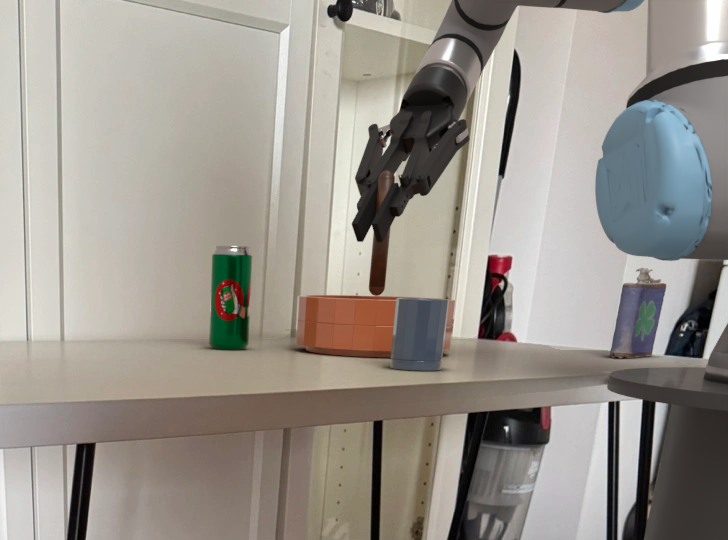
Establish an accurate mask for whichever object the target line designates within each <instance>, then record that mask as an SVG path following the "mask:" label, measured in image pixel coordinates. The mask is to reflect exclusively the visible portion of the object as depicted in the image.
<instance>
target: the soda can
mask: <svg viewBox="0 0 728 540" xmlns="http://www.w3.org/2000/svg"><path fill="white" fill-rule="evenodd" d="M250 249H251V248H250V246H245V245H215V246H214V251H213V252H212V254H211V269H210V270H211V271H210V301H209V302H210V303H209V306H210V307H209V338H208V339H209V340H208V344H209V346H210V347H211V348H212V349H215V350H223V351H224V350H225V351H240V350H242V351H243V350H245V349H246V348H247V347H248V346H249V343H250V342H249V341H250V340H249V339H250V319H251V318H250V317H251V296H252V295H251V294H252V272H253V255H252V253H251V251H250Z"/></svg>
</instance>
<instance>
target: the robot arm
mask: <svg viewBox="0 0 728 540" xmlns="http://www.w3.org/2000/svg"><path fill="white" fill-rule="evenodd" d="M644 2H645V0H451V2H450V3H449V6H448V8H447V10H446V12H445V15H444V17H443V19H442V20H441V24H440V26H439V27H438V29H437V31H436V33H435V36H434V37H433V40H432V42H431V44H430V45H429V47H428V49H427V51H426V53H425V54H424V56H423V57H422V59H421V61H420V63H419V65H418V67H417V69H416V71H415V73H414V76H413V77H412V79H411V80H410V83H409V85H408V87H407V89H406V90H405V92H404V94H403V97H402V99H401V102H400V107H399V110H398V112H397V113H396V114H395V115H394V116H393V117H391V119H390V122H389V124H387V125H384V126H382V127H379V125H378V123H372V124H370V125H369V126H368V128H367V130H368V131H367V132H368V140H367V142H366V146H365V148H364V151H363V155H362V157H361V160H360V162H359V165H358V168H357V171H356V173H355V176H354V180H355V183H356V186H357V187H356V188H357V191H358V193H359V196H360V197H359V199H358V201H357V202H356V209H357V212H356V214H355V216H354V218H353V220H352V222H351V226H352V230H353V232H354V235H355V238H356V241H357V242H358V243H362V242H363V243H364V240H365V239H366V237H367V235H368V233H369V231H370V229H371V228H372V230H373V233H374V234H375V237H376V240H377V242H383V240H384V238H385V236H386V234H387V232H388V230H389V228H390V229H391V227H390V226H392V224H393V223H394V220H395V218H397V217H398V218H399V217H401V216H402V215H403V213H404V211H405V210H406V207H407V205H408V204H409V201H410V200H412V199H413V198H414V196H415V195H419V196H421V197H425V196H427V195H429V193H430V192H431V191H432V189H433V188H434V186H435V185H436V183H437V182H438V180H439V179H440V178H441V176H442V175H443V173H444V172H445V170H446V168H447V167H448V166H449V164H450V163H451V161H452V160H453V158H454V157H455V156H456V154H457V152H458V151H459V150H461V149H462V148H463V147H464V146H465V145H466V144H467V143H468V142H469V141H470V134H469V129H468V124H467V123H468V122H467V120H466V119H464V118H463V119H462V118H461V116H462V114H463V112H464V110H465V109H466V105H467V103H468V101H469V99H470V98H471V96H472V93H473V91H474V90H475V88H476V86H477V84H478V82H479V79H480V78H481V75H482V73H483V71H484V69H485V68H486V66H487V64H488V62H489V61H490V58H491V56H492V54H493V53H494V50H495V49H496V46H497V45H498V44H499V42H500V41H501V38H502V36H503V34H504V32H505V30H506V28H507V25H508V23H509V22H510V20H511V18H512V16H513V15H514V12H515V10H516V9H517V8H518V6H519V7H533V8H548V9H549V8H550V9H564V10H565V9H566V10H567V9H568V10H577V11H578V10H579V11H587V12H588V11H589V12H598V13H603V14H610V13H613V12H615V13H617V12H631V11H633V10H636V9H638V7H640V6H641V5H642V4H643V3H644ZM645 56H646V61H645V62H646V63H645V77H644V78H643V79H642V80H641V82H640V83H638V85H637V86H636V87H635V88H634V89H633V90H632V91H631V92H630V94H629V95H628V98H627V99H626V104H625V105H626V106H625V109H624V110H622V112H621V113H620V114H619V115H617V117H616V118H615V120H614V121H613V122H612V124H611V126H610V127H609V129H608V131H607V132H606V135H605V137H604V139H603V142H602V145H601V151H602V157H601V158H599V159H598V160H597V165H596V170H595V181H594V182H595V183H594V186H595V187H594V191H595V192H594V193H595V194H594V195H595V204H596V205H595V206H596V211H597V216H598V220H599V222H600V225H601V227H602V230H603V232H604V234H605V236H606V238H607V239H608V240H609V241H610V242H611V243H613V244H614V245H615V246H616V248H617V249H618V250H619V251H621V252H623V253H624V254H627V255H631V256H634V257H648V258H653V259H655V260H658V261H659V260H660V261H665V262H666V261H668V262H675V261H679V260H713V261H715V260H717V261H728V0H647V23H646V55H645ZM460 118H461V119H460ZM389 138H390V140H389ZM388 141H389V144H388V146H387V142H388ZM384 149H385V150H384ZM403 162H406V164H405V166H404V169H403V171H402V174H397V175H398V181H399V183H398V182H395V183H392V185H391V187H390V188H389V190H388V192H387V194H386V196H385V198H384V200H383V202H382V204H381V206H380V208H379V210H378V212H377V214H376V216H375V211H376V199H377V188H378V178H379V175H380V174H381V173H382V172H383V171H385V170H389V171H391V172H393V174H394V175H395V174H396V172H397V171H398V169H399V168H400V166H401V165H402V163H403ZM705 368H706V370H705V375H704V379H706V380H709V381H713V382H718V383H724V384H728V322H727V323H726V325H725V327H724V329H723V331H722V333H721V334H720V336H719V338H718V339H717V341H716V343H715V345H714V346H713V349H712V350H711V352H710V354H709V357H708V361H707V363H706V366H705Z"/></svg>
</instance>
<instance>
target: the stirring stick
mask: <svg viewBox="0 0 728 540" xmlns="http://www.w3.org/2000/svg"><path fill="white" fill-rule="evenodd" d="M392 183H396V176H395V174H393V172H391V171H389V170H385V171H383V172H382V173H381V174H380V175H379V178H378V188H377V199H376V211H375V216H376V214H377V212H378V210H379V208H380V206H381V204H382V202H383V200H384V198H385V196H386V194H387V192H388V190H389V188H390V187H391V185H392ZM391 226H392V225H391ZM391 226H390V228H389V230H388V232H387V234H386V236H385V238H384V240H383V242H377V240H376V237H375V234H374V232H373V234H372V247H371V257H370V259H371V260H370V267H369V268H370V271H369V281H368V291H369V294H371V296H381V295H382V294H383V293H384V291H385V290H386V289H385V288H386V280H387V269H388V258H389V249H390V236H391Z"/></svg>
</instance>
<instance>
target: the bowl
mask: <svg viewBox="0 0 728 540" xmlns="http://www.w3.org/2000/svg"><path fill="white" fill-rule="evenodd" d="M396 298H420V297H419V296H418V297H416V296H391V295H390V296H388V295H378V296H375V295H358V294H357V295H354V294H353V295H351V294H350V295H349V294H348V295H347V294H345V295H344V294H299V295H297V299H296V300H297V303H296V319H295V337H294V343H295V345H298V346H302V347H305V351H306V352H309V353H313V354H320V355H328V356H329V355H330V356H341V357H354V358H355V357H357V358H358V357H359V358H384V359H386V358H387V359H391V348H392V337H393V327H394V317H395V306H396ZM426 298H427V299H440V298H439V297H437V298H436V297H426ZM446 299H447V300H449V306H448V315H447V323H446V332H445V341H444V349H443V351H448V350H450V349H451V347H452V339H453V330H454V321H455V310H456V304H457V299H451V298H446Z"/></svg>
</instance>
